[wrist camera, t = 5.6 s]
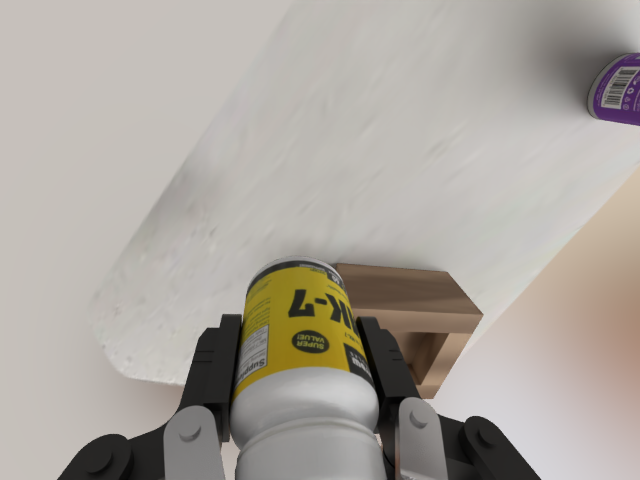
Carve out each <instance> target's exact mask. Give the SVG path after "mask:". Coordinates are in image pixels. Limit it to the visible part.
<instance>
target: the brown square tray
mask: <svg viewBox="0 0 640 480" xmlns="http://www.w3.org/2000/svg"><path fill="white" fill-rule="evenodd" d="M335 270H336V272H337V273H338V274H339V275H340V277H341V279H342V281H343V283H344V286H345V289H346V292H347V296H348V299H349V303H350V306H351V309H352V312H353V316H354V319H355V321H356V318H357V317H358V316H373V317H376V319H377V321H378V324H379V326H380V329H387V330H388V331H389V332H390V333H391V334H392V335H393V336H394V337H395V339H396V341H397V343H398V345H399V348H400V352H402V355H403V357H404V361H405V362H406V364H407V367H408V369H409V371H410V374H411V376H412V378H413V381H414V383H415V385H416V388H417V390H418V392H419V395H420V397H421V398H422V399H433V398H434V396H435V395H436V393H437V391H438V390H439V388H440V386H441V385H442V383H443V381H444V380H445V378H446V377H447V375H448V373H449V372H450V370H451V368H452V367H453V365H454V363H455V362H456V360H457V358H458V357H459V355H460V353H461V352H462V350H463V348H464V347H465V345H466V344H467V342H468V340H469V339H470V337H471V335H472V334H473V332H474V330H475V329H476V327H477V325H478V324H479V322H480V320H481V319H482V317H483V313H482V312H481V311H480V310H479V309H478V308H477V306H476V305H475V304H474V303H473V302H472V300H471V299H470V298H469V297H468V296H467V295H466V293H465V292H464V291H463V290H462V289H461V288H460V286H459V285H458V284H457V283H456V282H455V280H454V279H453V278H452V277H451V276H450V275H449V273H448V272H440V271H427V270H415V269H403V268H391V267H378V266H366V265H354V264H342V263H337V265H336V269H335Z"/></svg>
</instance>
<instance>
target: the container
mask: <svg viewBox="0 0 640 480" xmlns="http://www.w3.org/2000/svg"><path fill="white" fill-rule="evenodd" d="M587 104H588V110H589V112H590V114H591V115H592V116H593V117H594V118H596V119H600V120H605V121H612V122H618V123H624V124H631V125H637V126H640V53H630V54H625V55H623V56H620V57H618V58H616V59H615V60H613V61H612V62H611V63H609V64H608V65H607V66H606V67H605V68H604V69H603V70H602V71H601V72H600V74H599V75H598V76H597V78H596V79H595V81H594V83H593V85H592V87H591V89H590V92H589V95H588V102H587Z"/></svg>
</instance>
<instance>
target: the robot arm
mask: <svg viewBox="0 0 640 480" xmlns="http://www.w3.org/2000/svg"><path fill="white" fill-rule="evenodd" d="M355 322H356V325H357V328H358V332H359V335H360V339H361V342H362V346H363V349H364V353H365V356H366V359H367V362H368V366H369V369H370V373H371V376H372V379H373V382H374V385H375V389H376V394H377V398H378V403H379V418H378V421H377V425H376V427H375V429H374V431H373V433H374V434H380V438H381V441H382V443H381V446H380V447H381V450H382V456H383V462H384V467H385V472H386V476H387V480H541V479H540V477H539V476H538V475H537V474H536V473H535V471H534V470H533V469H532V468H531V467H530V465H529V464H528V463H527V462H526V461H525V459H524V458H523V457H522V456H521V455H520V453H519V452H518V451H517V450H516V449H515V447H514V446H513V445H512V444H511V442H510V441H509V440H508V439H507V438H506V436H505V435H504V434H503V433H502V431H501V430H500V429H499V428H498V427H497V426H496V425H495V424H493V423H492V422H491V421H489V420H487V419H485V418H483V417H480V416H472V417H469V418H468V419H467V420H466V422H465V423H464V422H460V421H457V420H454V419H450V418H447V417H444V416H441V415H439V414H437V413H436V412H435V410H434V409H433V408H432V407H431V406H430V405H429V404H428V403H427V402H425V401H424V400H422V398H421V397H420V395H419V392H418V390H417V388H416V385H415V383H414V381H413V378H412V376H411V374H410V371H409V369H408V367H407V364H406V362H405V361H404V357H403V355H402V352H400V348H399V345H398V343H397V341H396V339H395V337H394V336H393V335H392V334H391V333H390V332H389V331H388V330H387V329H380V326H379V324H378V321H377V319H376V317H373V316H358V317H357V318H356V321H355ZM241 329H242V315H241V314H223V315H222V318H221V323H220V327H219V328H207V329H206V330H205V331H204V333H203V334H202V335H201V336H200V337H199V339H198V343H197V346H196V350H195V353H194V356H193V360H192V364H191V367H190V370H189V374H188V377H187V381H186V384H185V388H184V391H183V395H182V399H181V402H180V405H179V407H178V409H177V411H176V412H175V414H174V415H173V416H172V418H171V419H170V420H169V421H167V423H165V424H164V425H162V426H161V427H159V428H157V429H156V430H153V431H151V432H148V433H145V434H143V435H140V436H137V437H134V438H132V439H129V440H127V439H126V437H124V436H122V435H119V434H108V435H104V436H101V437H99V438H97V439H95V440H93V441H91V442H90V443H88V444H87V445H86V446H84V447H83V448H82V449H81V450H80V451H79V452H78V453H77V454H76V456H75V457H74V458H73V459H72V461H71V462H70V463H69V465H68V466H67V468H66V469H65V470H64V471H63V473H62V474H61V475H60V477H59V478H58V479H57V480H225V474H224V469H223V463H222V457H221V446H222V442H229V440H230V426H229V414H230V406H231V398H232V391H233V385H234V378H235V371H236V364H237V356H238V349H239V342H240V335H241Z"/></svg>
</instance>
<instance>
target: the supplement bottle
mask: <svg viewBox="0 0 640 480" xmlns="http://www.w3.org/2000/svg"><path fill="white" fill-rule="evenodd" d="M378 418H379V403H378V398H377V394H376V389H375V385H374V382H373V379H372V376H371V373H370V369H369V366H368V362H367V359H366V356H365V353H364V349H363V346H362V342H361V339H360V335H359V332H358V328H357V325H356V322H355V319H354V316H353V312H352V309H351V306H350V303H349V299H348V296H347V292H346V289H345V286H344V283H343V281H342V279H341V277H340V275H339V274H338V273H337V272H336V270H335V269H333V268H332V267H331V266H330V265H328V264H326V263H325V262H323V261H320V260H318V259H314V258H310V257H305V256H290V257H284V258H281V259H278V260H275V261H273V262H271V263H269V264H267V265H266V266H264V267H263V268H262V269H260V270H259V271H258V272H257V273H256V275H255V276H254V277H253V279H252V280H251V282H250V284H249V286H248V290H247V294H246V302H245V308H244V315H243V322H242V329H241V335H240V342H239V349H238V356H237V364H236V371H235V378H234V385H233V391H232V398H231V406H230V414H229V426H230V432H231V436H232V438H233V440H234V442H235V444H236V445H237V447H238V448H239V449H240V450H241V451H240V453H239V455H238V458H237V466H236V469H235V480H387V476H386V472H385V467H384V462H383V456H382V450H381V447H380V445H379V444H378V442H377V439H376V436H375V435H374V433H373V431H374V429H375V427H376V425H377V421H378Z"/></svg>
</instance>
